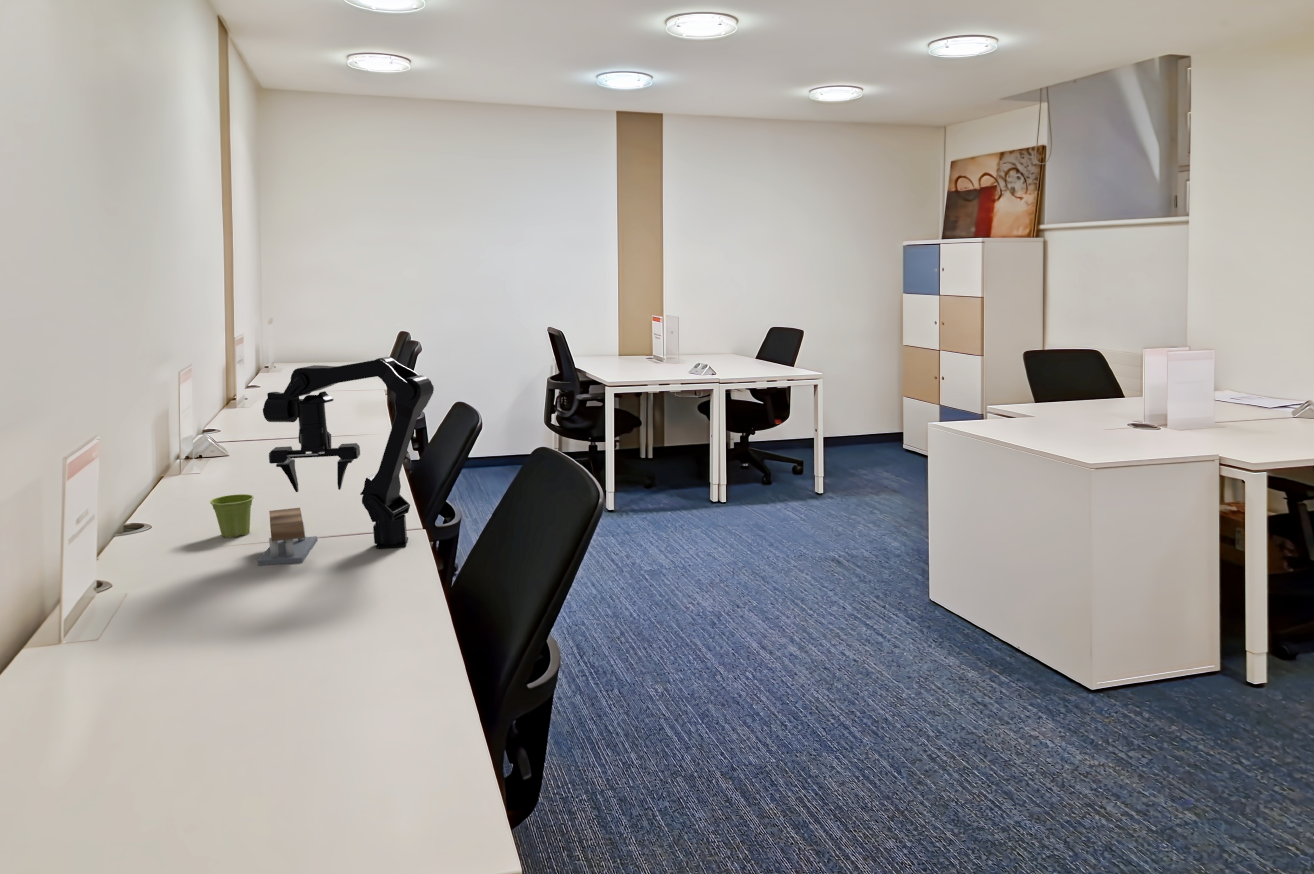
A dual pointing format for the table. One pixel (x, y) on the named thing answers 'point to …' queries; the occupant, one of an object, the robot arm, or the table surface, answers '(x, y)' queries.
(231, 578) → the table surface
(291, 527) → the shelf board
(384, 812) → the table surface
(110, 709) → the table surface
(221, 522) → the plant pot
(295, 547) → the peg stand
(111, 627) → the table surface
